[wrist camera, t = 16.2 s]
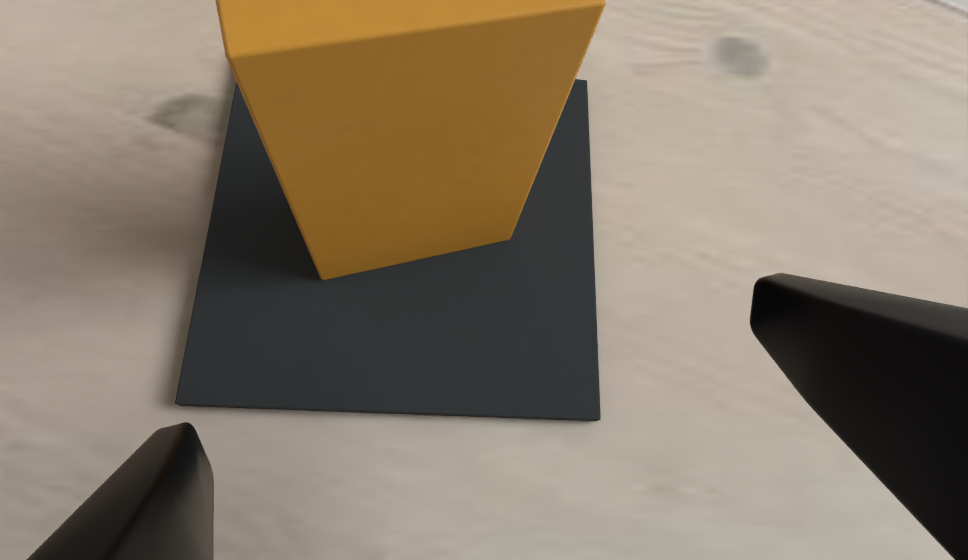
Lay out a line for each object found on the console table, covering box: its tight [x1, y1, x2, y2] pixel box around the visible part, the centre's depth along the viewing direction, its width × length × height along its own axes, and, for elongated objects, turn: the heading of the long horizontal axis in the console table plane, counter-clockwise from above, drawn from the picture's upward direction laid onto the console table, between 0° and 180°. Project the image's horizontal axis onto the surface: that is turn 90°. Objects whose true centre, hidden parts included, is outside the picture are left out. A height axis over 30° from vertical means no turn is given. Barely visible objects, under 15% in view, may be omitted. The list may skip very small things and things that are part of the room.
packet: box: [216, 0, 605, 280], centre depth 14 cm, size 3×6×10 cm, turn 106°
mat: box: [175, 79, 600, 421], centre depth 19 cm, size 12×12×1 cm
